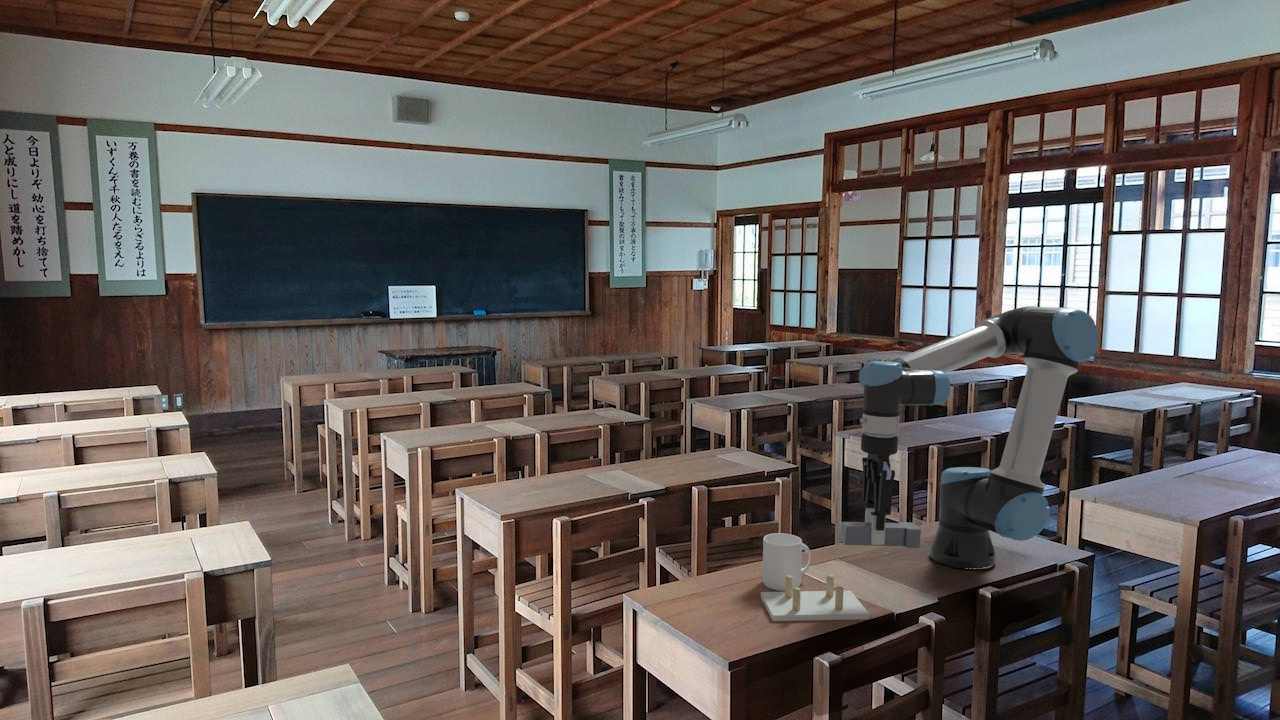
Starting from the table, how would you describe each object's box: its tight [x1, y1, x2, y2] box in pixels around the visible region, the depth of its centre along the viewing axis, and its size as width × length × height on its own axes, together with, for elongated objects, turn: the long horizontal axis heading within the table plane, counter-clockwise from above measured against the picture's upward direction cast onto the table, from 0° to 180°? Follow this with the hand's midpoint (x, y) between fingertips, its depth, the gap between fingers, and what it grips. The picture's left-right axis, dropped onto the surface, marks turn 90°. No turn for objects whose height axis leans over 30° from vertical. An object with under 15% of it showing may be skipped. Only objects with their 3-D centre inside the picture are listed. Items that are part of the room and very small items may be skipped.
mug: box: [762, 532, 812, 592], centre depth 182 cm, size 9×12×11 cm
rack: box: [760, 574, 870, 622], centre depth 169 cm, size 20×12×6 cm, turn 93°
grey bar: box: [839, 521, 922, 549], centre depth 172 cm, size 16×5×4 cm, turn 93°
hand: (874, 540), depth 172 cm, fingers closed on grey bar, 3 cm apart
